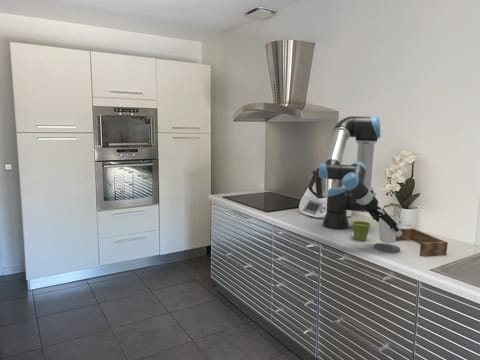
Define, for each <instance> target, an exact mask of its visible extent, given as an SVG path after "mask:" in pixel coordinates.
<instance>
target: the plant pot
mask: <svg viewBox="0 0 480 360" xmlns="http://www.w3.org/2000/svg"><path fill="white" fill-rule="evenodd" d="M351 224H352V226H353V227H352V228H353V239H355V240H356V241H366V240H367V238H368V234H369V229H370V227H371V225H372V224H371V222H367V221H364V220H363V221H362V220H353V221H351Z"/></svg>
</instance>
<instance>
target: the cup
mask: <svg viewBox="0 0 480 360" xmlns="http://www.w3.org/2000/svg"><path fill="white" fill-rule="evenodd" d="M388 215H389V216H390V217H391V218H392V219H393V220H394V221H395V222H396V223H397V225H396V226H397V227H398V228H399V226H400V217H399V216H395V215H393V214H392V215H390V214H388ZM378 230H379V241H380V242H382V243H386V244H393V243H396V242H395V239H396V234H395V233H394V232H393V231H392V229H390V226H389V225H388V224H387V223H386V222H385V221H383V220H382V219H381V218H379V223H378Z"/></svg>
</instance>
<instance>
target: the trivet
mask: <svg viewBox="0 0 480 360" xmlns="http://www.w3.org/2000/svg"><path fill="white" fill-rule="evenodd" d="M373 248H374V249H375V250H378V251H380V252H386V253H399V252H400V251H401V248H400V247H399V246H397V245H395V244H393V243H386V242H382V243H381V242H379V243H375V244H373Z"/></svg>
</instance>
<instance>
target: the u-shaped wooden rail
mask: <svg viewBox="0 0 480 360" xmlns="http://www.w3.org/2000/svg"><path fill="white" fill-rule="evenodd" d="M399 229H400V230H401V232H402V233H403V234H402V235H401V236H400V237H398V236H397V235H396V239H395V241H413V242H415V243H417V244H419V245H420V246H419V247H420V248H419V257H427V256H447V252H448V242H447V241H445V240H443V239H440V238H438V237H435V236H432V235H431V234H428V233H425V232H423V231H421V230H418V229H415V228H399Z"/></svg>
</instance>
